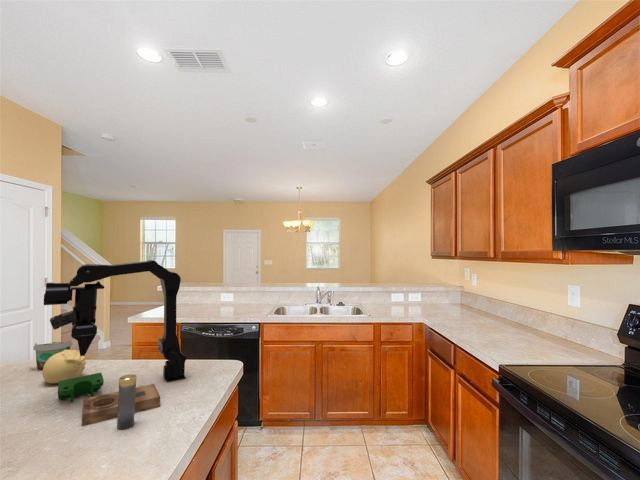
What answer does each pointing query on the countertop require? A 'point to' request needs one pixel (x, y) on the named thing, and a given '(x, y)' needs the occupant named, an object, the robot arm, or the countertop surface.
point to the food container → (49, 351)
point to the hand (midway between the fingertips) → (82, 351)
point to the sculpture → (63, 366)
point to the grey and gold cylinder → (126, 401)
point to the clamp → (79, 386)
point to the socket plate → (108, 404)
